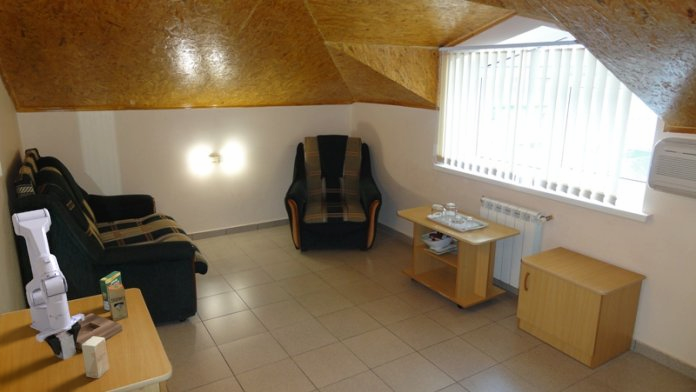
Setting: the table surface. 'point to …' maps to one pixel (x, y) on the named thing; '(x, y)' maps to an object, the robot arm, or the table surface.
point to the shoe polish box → (117, 301)
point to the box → (95, 357)
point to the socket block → (95, 329)
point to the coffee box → (107, 281)
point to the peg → (66, 345)
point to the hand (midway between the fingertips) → (65, 349)
